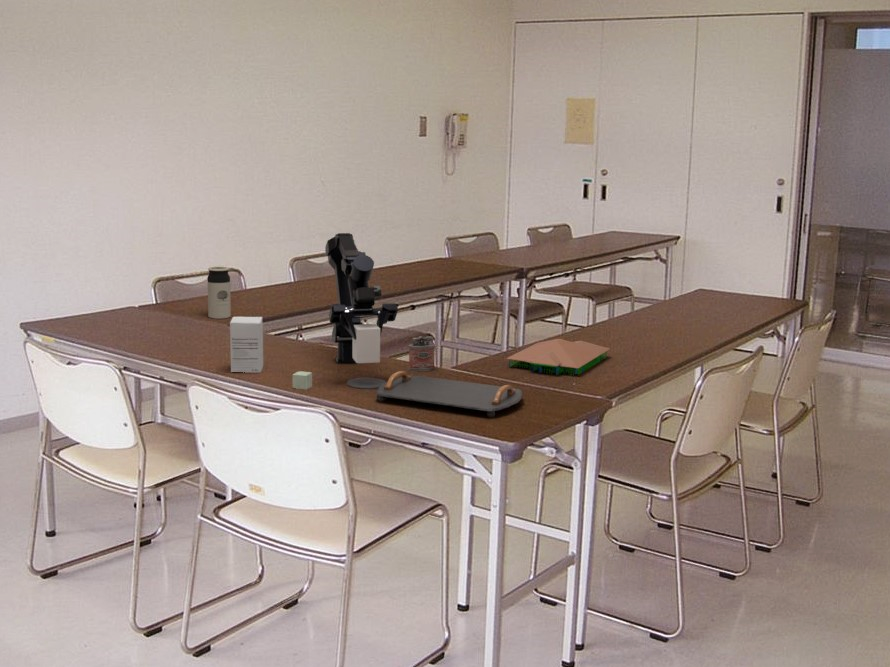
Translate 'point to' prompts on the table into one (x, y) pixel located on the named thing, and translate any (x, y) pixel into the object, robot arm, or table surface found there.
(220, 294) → the travel mug
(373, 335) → the white upright block
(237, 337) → the supplement box
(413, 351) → the lighter
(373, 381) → the mat
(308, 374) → the block
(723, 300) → the table surface
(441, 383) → the serving board
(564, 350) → the house
